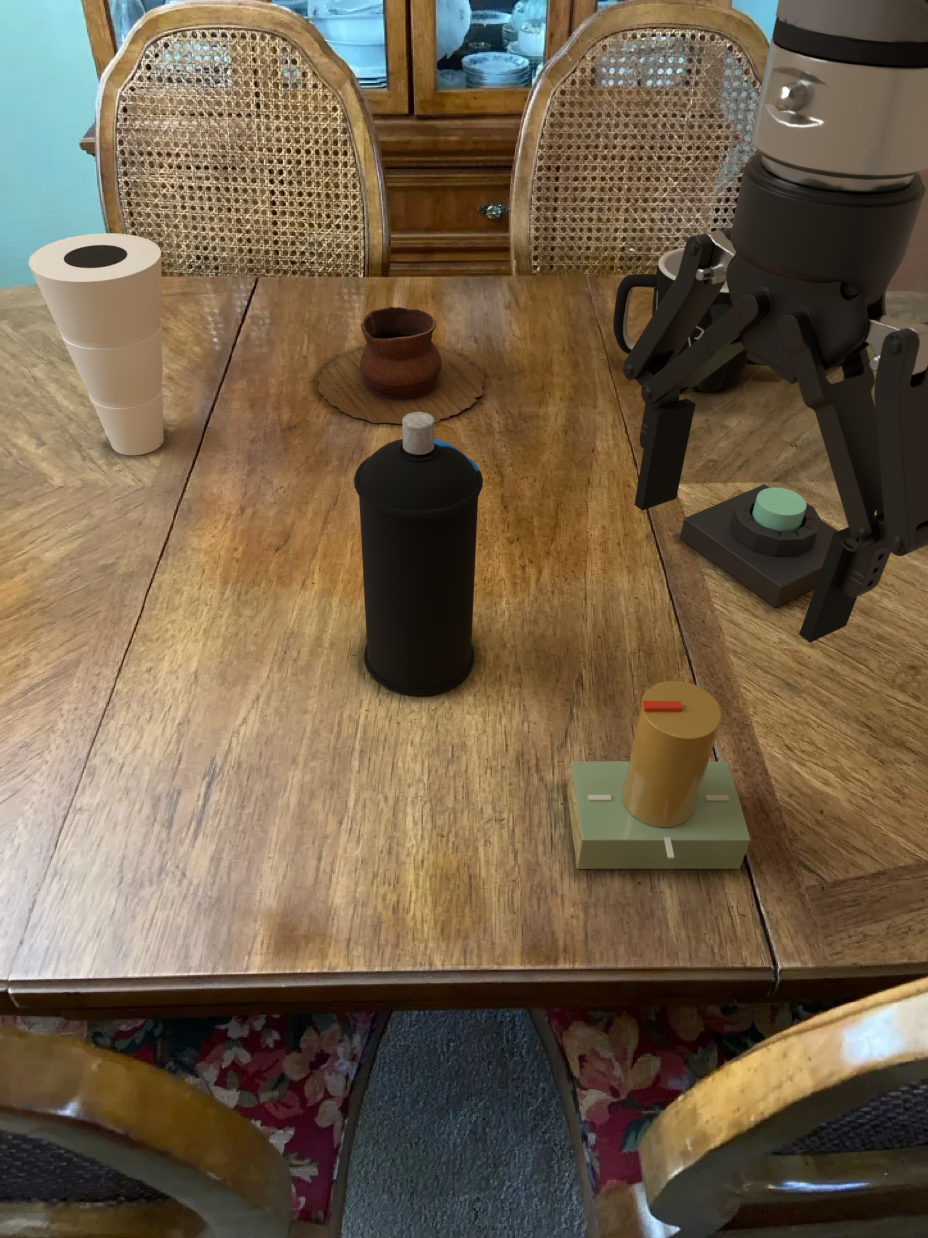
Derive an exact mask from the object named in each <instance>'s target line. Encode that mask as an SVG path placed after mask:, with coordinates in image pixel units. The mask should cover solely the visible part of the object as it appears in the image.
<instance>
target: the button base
mask: <svg viewBox="0 0 928 1238" xmlns="http://www.w3.org/2000/svg"><path fill="white" fill-rule="evenodd" d="M767 488H771V487H770V486H768V485H767V484H765V483H763V484H761V485H759V486H756V487H755V488H752V489H749V490H747V491H745V492H742V493H740V494H738V495H736V496H733V497H731V498H728V499H726V500H724V501H721V502H719V503H717V504H714V505H712V506H710V507H707V508H705V509H703V510H700V511H698V512H696V513H693V514H691V515H688V516H686V517H684V518H683V522H682V526H681V530H680V534H679V535H680V536H679V539H680V540H681V541H683V542H684V543H686V544H687V545H688V546H690V547H691V549H694V551H696V552H698V553H699V554H700V555H702V556H703V557H704V558H706V559H707V560H708V561H710V562H712V564H714V565H716V566H717V567H718V568H720V569H721V570H722V571H724V572H725V573H727V574H728V575H729V576H731V577H732V578H733V579H735V580H736V581H738V582H739V583H740V584H742V585H743V586H744V587H746V588H747V589H749V590H750V591H751V592H752V593H754V594H755V595H756V596H758V597H760V599H762V600H763V601H764V602H766V603H768V604H769V605H770V606H772V607H773V608H774V609H776V608H778V607H780V606H782V605H784V604H786V603H787V602H789V601H791V600H794V599H795V598H798V597H799V596H802V595H803V594H805V593H808V592H809V591H812V590H813V589H815V586H816V583H817V581H818V578H819V575H820V572H821V569H822V566H823V563H824V560H825V557H826V554H827V551H828V548H829V545H830V543H831V540H832V537H833V534H834V533H835V532H837V531H839V529H836V528H835V527H834V526H832V525H830V524H828V523H827V522H826V521H824V520H822V519H821V517H820V515H819V514H818V512H817V510H816V508H815V507H814V506H812V504H810V503H808V502H806V504H807V507H806V511H805V514H804V517H803V520H802V523H801V525H800V527H799V528H798V529H796V530H794V531H778V530H774V529H770V528H767V527H764V526H762V525H761V524H759V523H758V522H756V521H755V520H754V518H753V515H752V514H753V509H754V506H755V502H756V498H757V495H758V493H759V492H760V491H762V490H764V489H767Z"/></svg>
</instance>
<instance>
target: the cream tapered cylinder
mask: <svg viewBox="0 0 928 1238" xmlns="http://www.w3.org/2000/svg"><path fill="white" fill-rule="evenodd" d="M28 267H29V269H30V270H31V273H32V275H33V277H34V280H35V282H36V284H37V286H38V289H39V291H40V293H41V295H42V297H43V299H44V302H45V303H46V305H47V308H48V310H49V312H50V315H51V317H52V319H53V321H54V324H55V325H56V328H57V329H58V330H59V331H60V336H61V338H62V340H63V342H64V344H65V345H64V346H65V347H66V349H67V351H68V353H69V355H70V358H71V359H72V362H73V364H74V366H75V369H76V371H77V373H78V375H79V377H80V380H81V381H82V383H83V386H84V388H85V390H86V392H87V393H88V395H89V399H90V401H91V404H92V406H93V408H94V410H95V412H96V415H97V417H98V419H99V421H100V424H101V425H102V428H103V430H104V432H105V434H106V437H107V439H108V441H109V444H110V445H111V448H112V449H113V450H114V451H115V452H116V453H118V454H121V455H123V456H124V455H125V456H142V455H145V454H148V453H151V452H154V451H156V450H158V449H159V448H160V447H161V446H163V442H164V387H163V385H162V383H163V322H162V316H163V292H162V289H163V287H162V250H161V248H160V246H159V245H158V244H157V243H155V242H154V241H152V240H150V239H147V238H146V237H141V236H139V235H134V234H126V233H114V232H113V233H110V232H108V233H106V232H105V233H104V232H103V233H101V232H100V233H88V234H83V235H82V234H81V235H75V236H69V237H66V238H62V239H59V240H55V241H52V242H50V243H47V244H45V245H44V246H42V247H40V248H38V249H37V250H35V251H34V252H33V253H32V254H31V255H30V257H29V259H28Z"/></svg>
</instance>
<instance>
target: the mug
mask: <svg viewBox="0 0 928 1238" xmlns="http://www.w3.org/2000/svg"><path fill="white" fill-rule="evenodd" d="M684 249H685V247H680V248H676V249H673V250H670V251H668V252H666V253H664V254H663V255H661V256H660V258H659V259H658V261H657V265H656V271H655V273H635V274H634V273H633V274H627V275H626V276H624V278H623V279H622V280H621V281H620V283H619V285H618V287H617V290H616V297H615V301H614V309H613V319H612V321H613V323H612V324H613V325H612V327H613V333H614V337H615V341H616V343H617V345H618V347H619V348H620V350H621V351H623V352H624V353H625V354H628V355H629V354H630V352H631V350H632V349H633V347H634V346H635V344H636V342H637V341H638V340H632V339H631V338H630V336H629V333H628V314H629V308H630V302H631V297H632V293H633V290H634V288H647V289H653V296H652V307H651V317H652V316H653V314H654V313H655V311H656V310H657V308H658V306H659V305H660V303H661V301H662V300H663V298H664V296H665V295H666V293H667V292H668V290H669V288H670V287H671V285H672V283H673V282H674V280H675V278H676V277H677V275H678V272H679V268H680V264H681V260H682V256H683V253H684ZM731 308H732V303H731V298H730V294H729V290H728V286H727V281H726V282H725V284H724V285H723V287H722V289H721V290H720V292H719V293H718V295H717V296H716V298H715V299H714V301H713V302H712V304H711V305H710V307H709V308H708V310H707V311H706V313H705V314H704V316H703V317H702V319H701V320H700V321H699V323H698V324H697V326H696V327H695V329H694V330H693V332H692V333H691V335H690V336H689V338H688V339H687V341H686V342H685V344H684V345H683V347H682V348H681V349H680V351H679V352H678V354H677V355H676V357H678V356H679V355H680V354H681V353H682V352H684V351H685V350H686V349H687V348H689V347H690V346H691V345H692V344H693V343H695V342H696V341H697V340H698V339H700V338H701V337H702V336H703V335H704V334H706V333H705V330H706V329H707V328H708V327H709V326H710V325H712V324H713V323H714V322H715V321H717V320H718V319H719V318H720V317H721V316H723V315H724V314H725V313H726V312H727V311H729V310H730V309H731ZM746 356H747V351H746V350H745V349H744V350H742V351H741V352H740V353H738V354H737V355H736V356H734V357H733V358H732V359H730V360H729V361H728V362H726V363H725V364H724V365H722V366H721V367H720V368H718V369H717V370H716V371H714V372H713V373H711V374H710V375H709V376H707V377H706V378H705V379H703V380H702V381H701V382H699V383H698V384H697V385H695V386H694V387H693V388H691V389H694V391H695V390H697V391H701V392H705V393H713V392H717V391H718V390H720V389H723V388H727V387H729V386H731V385H732V384H734V383H735V382H736V381H737V380H738V379H739V378H740V375H741V374H742V373H743V371H744V370H745V368H746V366H747V365H750V366H760V365H759V364H756V363H754V362H753V361H751V360H749V359H747V358H746ZM676 357H675V358H676ZM675 358H674V359H675Z"/></svg>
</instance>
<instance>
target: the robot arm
mask: <svg viewBox="0 0 928 1238" xmlns="http://www.w3.org/2000/svg"><path fill="white" fill-rule="evenodd" d="M774 21H775V22H774V26H773V30H772V35H771V39H770V43H769V48H768V53H767V57H766V61H765V62H766V64H765V67H764V73H763V77H762V82H761V87H760V93H759V98H758V102H757V108H756V113H755V118H754V123H753V128H752V133H751V138H750V142H751V144H752V146H753V147H754V148H755V150H756V151H757V152H758V153H757V154H756V155H755V156H753V157H752V158H751V159H750V161H748V162H747V163H746V164H744V167H743V171H742V176H741V179H740V180H741V181H740V185H739V191H738V195H737V201H736V206H735V209H734V215H733V220H732V225H731V227H728V228H723V229H719V230H713V231H709V232H704V233H700V234H695V235H692V236H691V235H690V236H689V237H688V238H687V240H686V242H685V246H684V248H685V249H684V253H683V256H682V260H681V264H680V268H679V272H678V275H677V277H676V278H675V280H674V282H673V283H672V285H671V287H670V288H669V290H668V292H667V293H666V295H665V296H664V298H663V300H662V301H661V303H660V305H659V306H658V308H657V310H656V311H655V313H654V314H653V316H652V315H651V318H650V319H649V321H648V322H647V324H646V326H645V327H644V329H643V331H642V332H641V334H640V336H639V337H638V338H637V340H636V341H637V342H636V344H635V346H634V347H633V349H632V350H631V352H630V354H628V355H627V356H626V358H625V360H624V362H623V364H622V371H623V375H624V377H625V378H626V379H627V380H628V381H631V382H632V381H636V382H637V383H638V385H639V386H640V387H641V390H640V392H641V393H640V394H641V397H642V399H643V402H644V410H643V415H642V420H641V426H640V427H641V428H640V433H639V445H640V446H639V447H640V448H641V449H643V452H642V456H641V463H640V469H639V473H638V481H637V487H636V493H635V498H634V504H633V505H634V506H635V507H637V508H638V509H639V510H640V511H642V512H644V511H645V510H649V509H651V508H654V507H657V506H660V505H662V504H665V503H669V502H671V501H674V500H676V499H677V497H678V492H679V487H680V482H681V477H682V472H683V467H684V463H685V459H686V453H687V448H688V443H689V438H690V434H691V429H692V424H693V423H692V422H693V419H694V413H695V409H696V402H694V401H692V400H691V399H690V398H687V397H686V398H683V399H680V396H682V395H685V394H689V393H692V392H694V391H695V389H691V388H693V387H694V386H695V385H697V384H698V383H699V382H701V381H702V380H703V379H705V378H706V377H707V376H709V375H710V374H711V373H713V372H714V371H716V370H717V369H718V368H720V367H721V366H722V365H724V364H725V363H726V362H728V361H729V360H730V359H732V358H733V357H734V356H736V355H737V354H738V353H740V352H741V351H742V350H744V349H745V350H746V351H747V356H746V358H747V359H749V360H751V361H753V362H754V363H756V364H759V365H758V366H765V367H769V368H770V369H771V370H772V371H773V372H774V373H775V374H776V375H778V377H779V378H781V379H783V380H784V381H786V382H787V383H790V384H791V385H794V384H798V388H799V391H800V394H801V397H802V401H803V403H804V405H805V407H807V408H809V409H812V411H814V413H815V417H816V421H817V423H818V427H819V431H820V434H821V438H822V440H823V444H824V448H825V450H826V454H827V457H828V461H829V464H830V468H831V472H832V474H833V478H834V482H835V484H836V488H837V493H838V495H839V498H840V502H841V505H842V508H843V509H842V510H843V512H844V515H845V519H846V522H847V527H844V528H843V529H840V530H838V531H837V532H835V533H834V534H833V537H832V540H831V543H830V545H829V548H828V551H827V554H826V557H825V560H824V563H823V566H822V569H821V572H820V575H819V578H818V581H817V583H816V586H815V588H813V589H814V590H813V593H812V596H811V599H810V601H809V604H808V607H807V610H806V613H805V616H804V619H803V622H802V625H801V628H800V630H799V633H798V634H799V636H800V637H801V638H803V639H804V640H805V641H807V642H808V643H810V644H811V643H813V642H815V641H817V640H819V639H821V638H824V637H826V636H827V635H830V634H832V633H834V632H837V631H838V630H840V629H843V628H844V627H847V625H848V622H849V620H850V618H851V615H852V612H853V609H854V607H855V605H856V602H857V599H858V597H860V596H862V595H865V594H866V593H869V592H870V591H873V590H874V589H875V588H876V587H878V585H879V583H880V582H881V578H882V575H883V573H884V570H885V568H886V566H887V563H888V560H889V558H890V555H891V554H892V555H894V556H897V557H904V556H905V555H907V554H910V553H913V552H915V551H917V550H920V549H922V548H924V547H926V546H928V321H925V322H922V323H918V324H915V323H914V324H913V323H911V322H907V321H904V320H900V319H897V318H894V317H891V316H888V315H887V308H886V295H887V290H888V287H889V285H890V283H891V281H892V279H893V277H894V276H895V274H896V273H897V271H898V269H899V268H900V266H901V264H902V262H903V261H904V259H905V256H906V253H907V250H908V246H909V243H910V240H911V237H912V234H913V232H914V228H915V225H916V222H917V219H918V216H919V212H920V210H921V208H922V207H921V206H922V203H923V201H924V198H925V194H926V190H927V189H926V186H925V184H924V182H923V179H922V176H921V175H920V174H921V173H923V172H925V171H926V170H927V169H928V0H778V1H777V7H776V11H775V20H774ZM726 281H727V286H728V290H729V294H730V298H731V303H732V308H731V309H730V310H729V311H727V312H726V313H725V314H724V315H723V316H721V317H720V318H719V319H718V320H717V321H715V322H714V323H713V324H712V325H710V326H709V327H708V328H707V329H706V330H705V333H706V334H704V335H703V336H702V337H701V338H700V339H698V340H697V341H696V342H695V343H693V344H692V345H691V346H690V347H689V348H687V349H686V350H685V351H684V352H682V353H681V354H680V355H679V356H678V357H676V355H677V354H678V352H679V351H680V349H681V348H682V347H683V345H684V344H685V342H686V341H687V339H688V338H689V336H690V335H691V333H692V332H693V330H694V329H695V327H696V326H697V324H698V323H699V321H700V320H701V319H702V317H703V316H704V314H705V313H706V311H707V310H708V308H709V307H710V305H711V304H712V302H713V301H714V299H715V298H716V296H717V295H718V293H719V292H720V290H721V289H722V287H723V285H724V284H725V282H726ZM869 346H871V349H872V350H873V354H874V355H873V356H872V357H869V352H868V350H867V348H868V347H869ZM675 357H676V358H675ZM674 358H675V359H674ZM840 368H841V370H842V373H843V379H842V380H841V381H838V382H834V383H831V382H830V381H829V379H828V377H827V376H830V375H832V374H833V373H835V372H836V371H837V370H839V369H840ZM874 372H876V375H875V374H874ZM873 388H874V398H873V394H872V390H873ZM875 513H876V514H875Z"/></svg>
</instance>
